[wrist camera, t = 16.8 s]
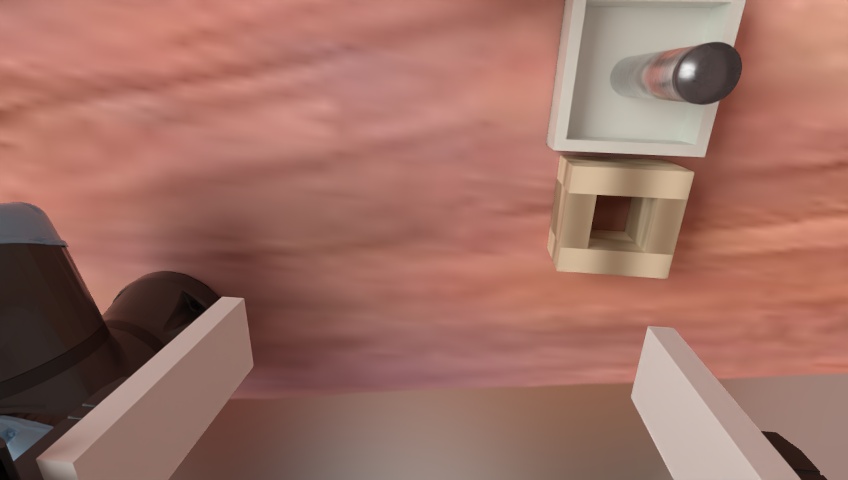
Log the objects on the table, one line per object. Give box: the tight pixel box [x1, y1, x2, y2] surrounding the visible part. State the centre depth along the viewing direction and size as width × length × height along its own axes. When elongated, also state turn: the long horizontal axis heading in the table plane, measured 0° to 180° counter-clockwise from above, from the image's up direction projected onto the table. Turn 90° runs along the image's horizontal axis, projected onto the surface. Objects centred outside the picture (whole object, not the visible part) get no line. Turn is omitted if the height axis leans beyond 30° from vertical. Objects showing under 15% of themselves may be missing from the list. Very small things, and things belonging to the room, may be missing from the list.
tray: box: [546, 0, 746, 157], centre depth 37 cm, size 13×13×4 cm
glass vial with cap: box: [610, 42, 742, 105], centre depth 32 cm, size 4×4×14 cm
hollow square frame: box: [547, 155, 695, 279], centre depth 41 cm, size 10×10×6 cm
